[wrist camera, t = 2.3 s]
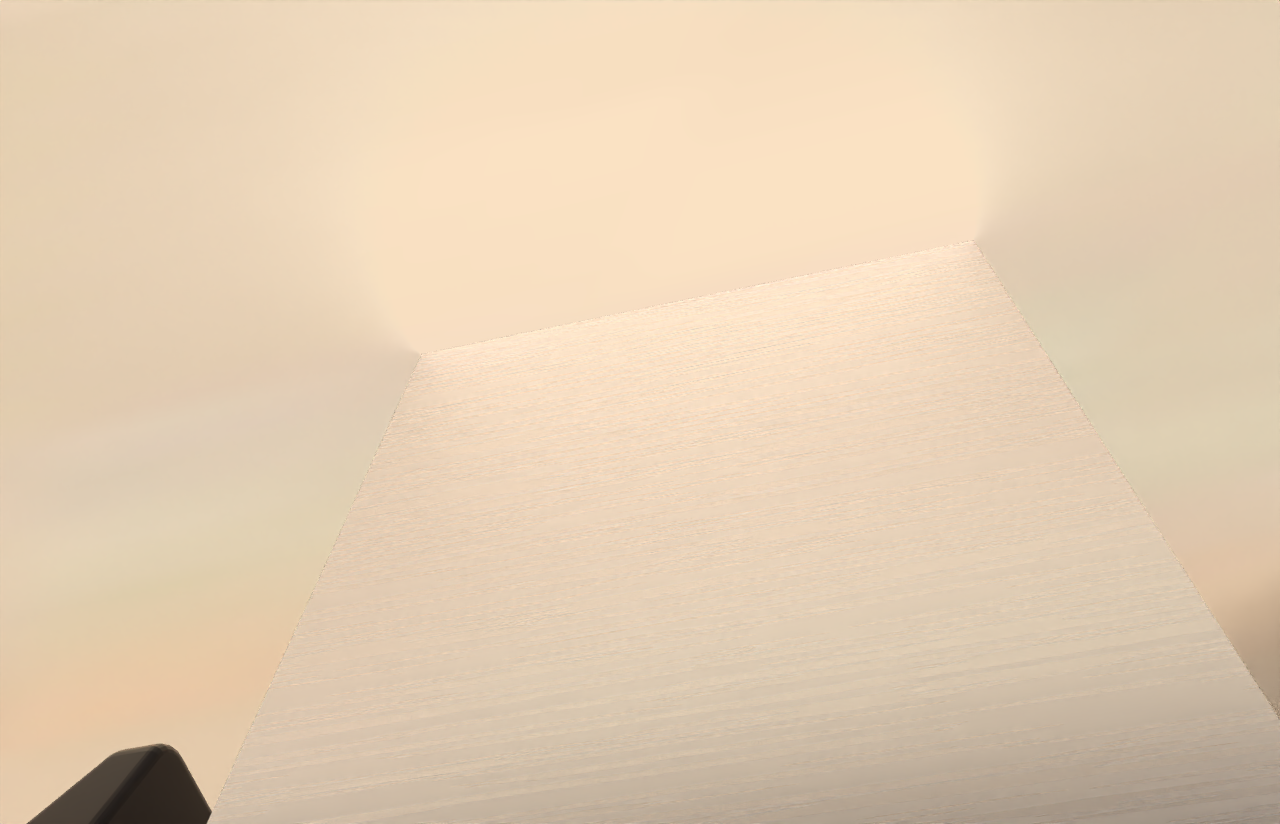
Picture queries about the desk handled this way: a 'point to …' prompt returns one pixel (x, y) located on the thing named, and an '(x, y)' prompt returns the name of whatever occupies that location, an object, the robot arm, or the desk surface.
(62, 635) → the desk surface
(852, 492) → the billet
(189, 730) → the desk surface
